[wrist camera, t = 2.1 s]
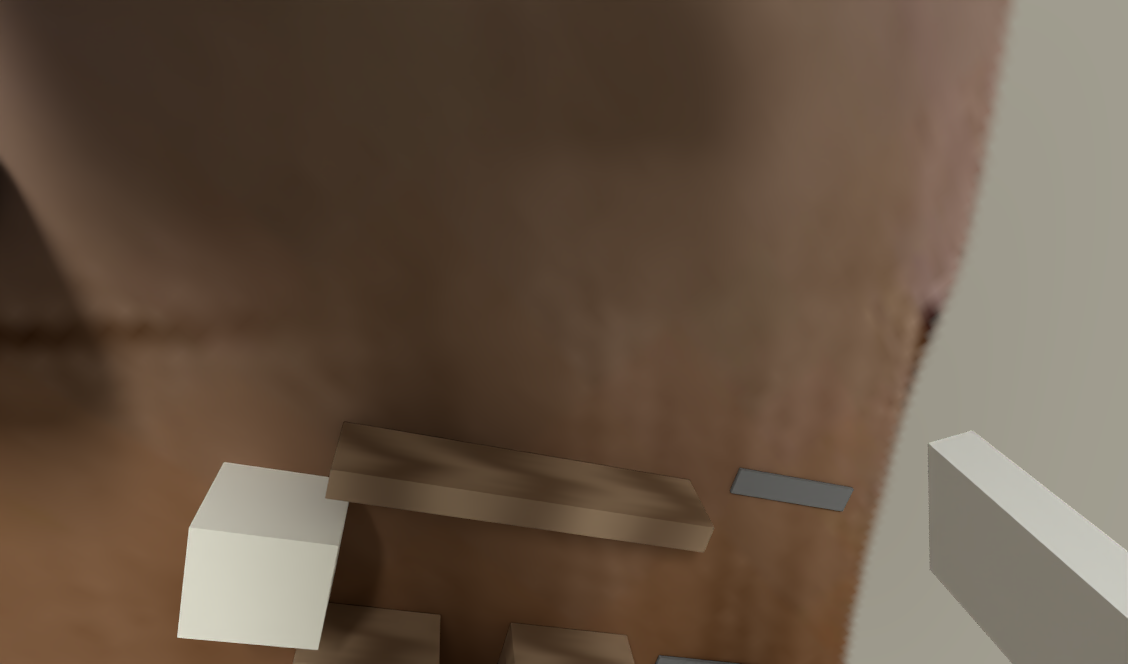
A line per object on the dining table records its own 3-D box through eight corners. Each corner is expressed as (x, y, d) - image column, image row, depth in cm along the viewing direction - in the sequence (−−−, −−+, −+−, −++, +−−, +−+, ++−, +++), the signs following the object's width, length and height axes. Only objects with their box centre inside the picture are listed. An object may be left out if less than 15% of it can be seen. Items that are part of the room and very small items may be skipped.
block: (212, 560, 36) (177, 637, 31) (224, 460, 34) (189, 527, 29) (334, 574, 37) (317, 650, 33) (353, 479, 35) (338, 545, 31)
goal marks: (651, 673, 43) (651, 676, 43) (739, 467, 38) (741, 469, 38) (753, 683, 45) (754, 686, 45) (851, 487, 40) (853, 489, 40)
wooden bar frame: (289, 696, 40) (273, 763, 36) (343, 421, 34) (330, 469, 30) (592, 720, 44) (604, 782, 40) (689, 479, 38) (714, 527, 34)
